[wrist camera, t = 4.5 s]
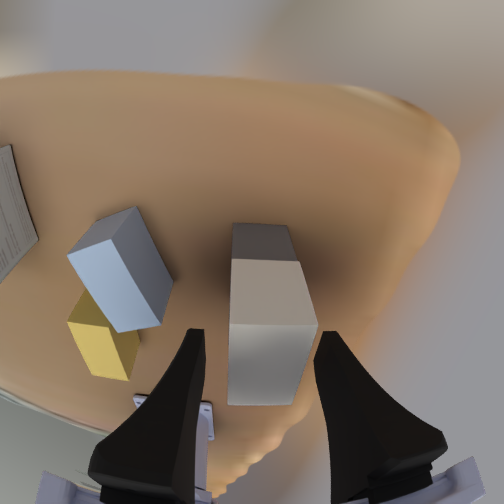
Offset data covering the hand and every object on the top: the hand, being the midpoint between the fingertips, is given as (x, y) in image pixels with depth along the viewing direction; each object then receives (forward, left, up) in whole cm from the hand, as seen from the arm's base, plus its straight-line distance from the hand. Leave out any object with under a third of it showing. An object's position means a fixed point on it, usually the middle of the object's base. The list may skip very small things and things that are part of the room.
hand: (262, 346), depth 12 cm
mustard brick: (-5, +10, -6) cm, 13 cm away
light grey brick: (0, 0, -2) cm, 3 cm away
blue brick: (0, +8, -6) cm, 10 cm away
